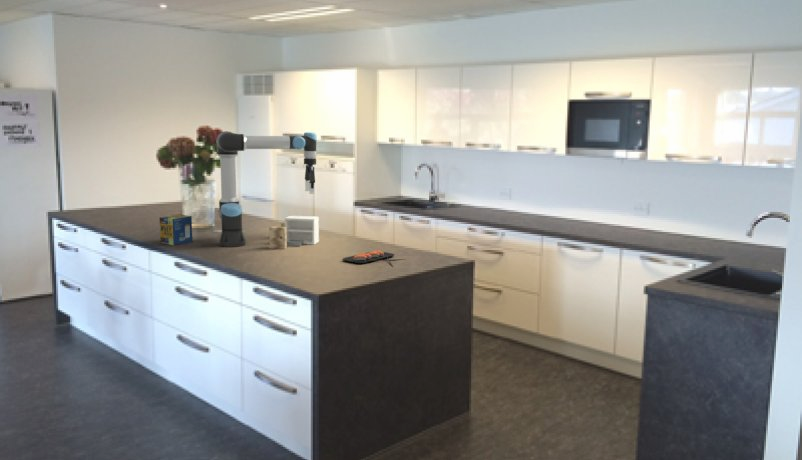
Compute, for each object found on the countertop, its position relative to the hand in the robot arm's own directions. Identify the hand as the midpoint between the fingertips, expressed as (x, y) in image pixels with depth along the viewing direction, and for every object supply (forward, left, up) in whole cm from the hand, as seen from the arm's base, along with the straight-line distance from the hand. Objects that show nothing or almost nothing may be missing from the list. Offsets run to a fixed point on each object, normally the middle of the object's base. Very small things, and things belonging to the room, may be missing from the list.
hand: (309, 192), depth 416 cm
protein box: (-79, +4, -28) cm, 84 cm away
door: (-26, -30, -28) cm, 48 cm away
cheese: (-12, +1, -28) cm, 30 cm away
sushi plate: (+18, -80, -29) cm, 87 cm away
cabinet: (-11, -20, -28) cm, 36 cm away
